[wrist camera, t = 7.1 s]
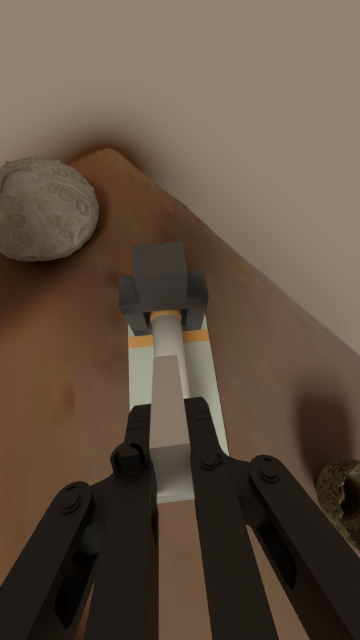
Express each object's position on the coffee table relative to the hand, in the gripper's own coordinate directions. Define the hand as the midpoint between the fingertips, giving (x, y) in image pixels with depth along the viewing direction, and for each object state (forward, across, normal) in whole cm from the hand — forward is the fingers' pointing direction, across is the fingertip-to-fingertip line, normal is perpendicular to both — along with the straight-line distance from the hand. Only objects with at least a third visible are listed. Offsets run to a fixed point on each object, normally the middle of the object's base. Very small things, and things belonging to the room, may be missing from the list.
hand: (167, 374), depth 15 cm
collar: (+14, 0, -2) cm, 14 cm away
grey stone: (+33, -18, +10) cm, 38 cm away
